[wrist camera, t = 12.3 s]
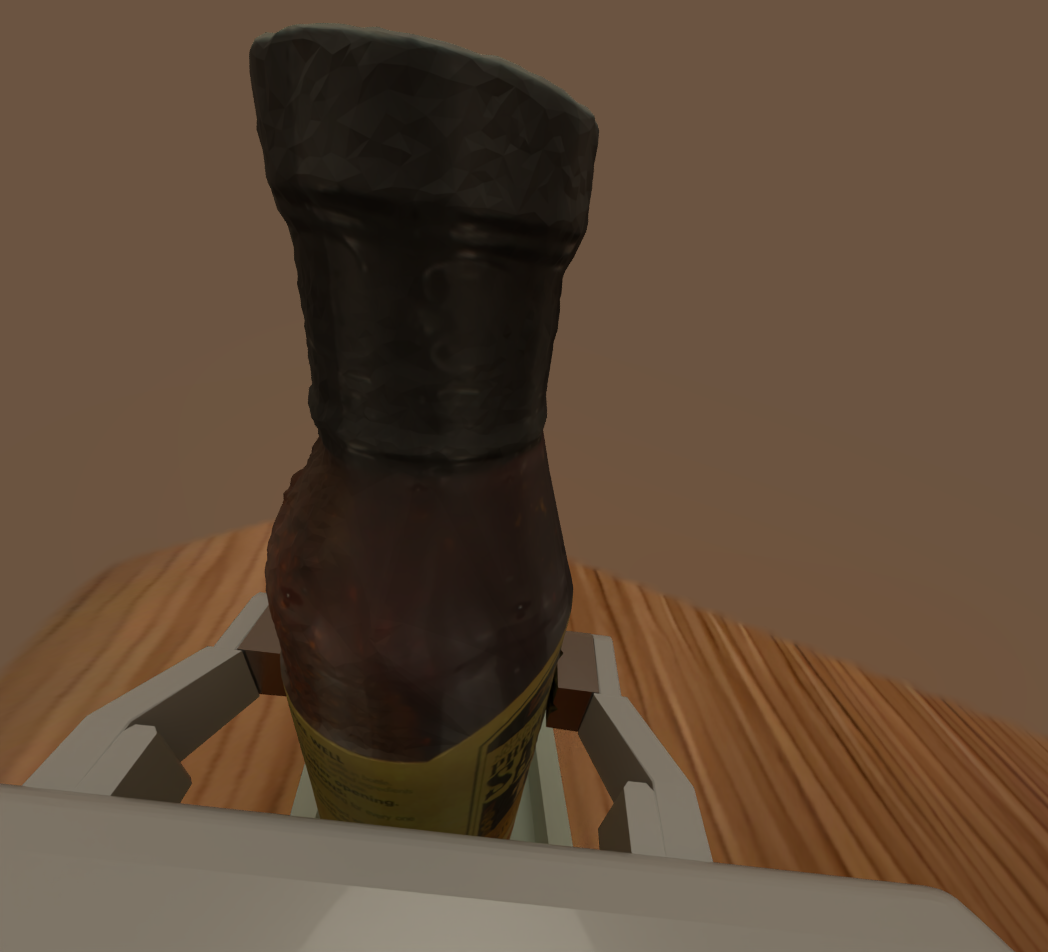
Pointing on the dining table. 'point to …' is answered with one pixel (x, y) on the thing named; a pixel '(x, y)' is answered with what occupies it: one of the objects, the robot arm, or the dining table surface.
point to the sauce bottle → (421, 415)
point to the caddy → (538, 806)
